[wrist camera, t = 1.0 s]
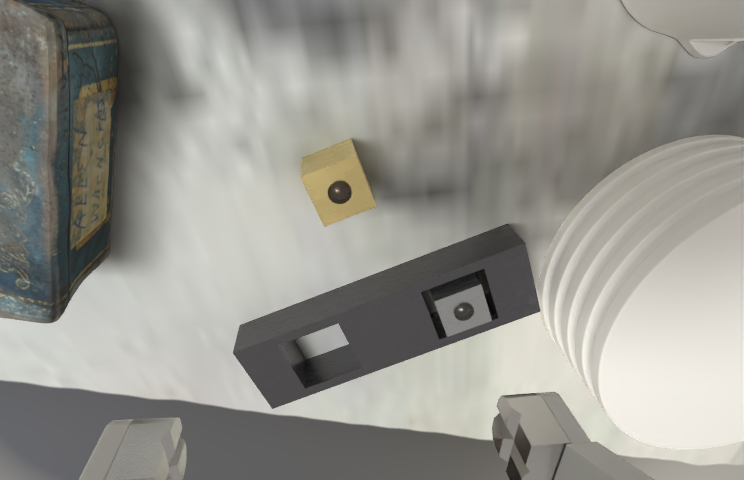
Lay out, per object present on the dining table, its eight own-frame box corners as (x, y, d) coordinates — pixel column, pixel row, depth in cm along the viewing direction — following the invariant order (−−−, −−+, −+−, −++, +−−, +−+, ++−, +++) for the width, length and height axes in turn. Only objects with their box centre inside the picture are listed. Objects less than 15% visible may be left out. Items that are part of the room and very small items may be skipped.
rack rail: (507, 223, 42) (525, 243, 38) (523, 288, 45) (540, 311, 42) (239, 325, 44) (233, 352, 40) (275, 379, 47) (272, 408, 44)
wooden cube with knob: (351, 138, 36) (356, 155, 32) (369, 184, 38) (376, 207, 34) (302, 157, 37) (300, 178, 32) (323, 202, 39) (324, 227, 34)
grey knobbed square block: (464, 256, 43) (482, 285, 38) (474, 290, 45) (492, 321, 40) (422, 272, 43) (434, 302, 39) (434, 305, 45) (447, 338, 41)
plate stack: (708, 68, 37) (855, 87, 27) (840, 236, 47) (983, 296, 37) (483, 296, 46) (530, 376, 35) (635, 398, 56) (706, 483, 45)
